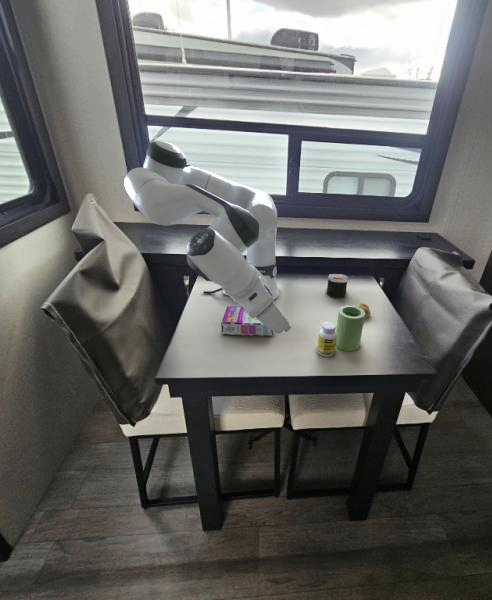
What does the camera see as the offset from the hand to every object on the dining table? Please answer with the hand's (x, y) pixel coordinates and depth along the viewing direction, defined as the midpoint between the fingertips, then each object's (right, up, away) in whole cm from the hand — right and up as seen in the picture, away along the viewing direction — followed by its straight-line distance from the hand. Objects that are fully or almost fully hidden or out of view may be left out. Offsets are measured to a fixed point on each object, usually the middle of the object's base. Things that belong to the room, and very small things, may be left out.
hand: (280, 318), depth 82 cm
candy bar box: (-21, -2, +23) cm, 31 cm away
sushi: (+20, +7, +51) cm, 55 cm away
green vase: (+20, -9, +20) cm, 30 cm away
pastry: (+26, -1, +36) cm, 44 cm away
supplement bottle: (+13, -11, +15) cm, 23 cm away
